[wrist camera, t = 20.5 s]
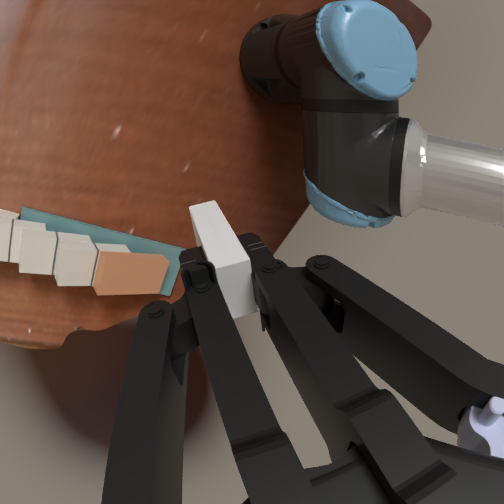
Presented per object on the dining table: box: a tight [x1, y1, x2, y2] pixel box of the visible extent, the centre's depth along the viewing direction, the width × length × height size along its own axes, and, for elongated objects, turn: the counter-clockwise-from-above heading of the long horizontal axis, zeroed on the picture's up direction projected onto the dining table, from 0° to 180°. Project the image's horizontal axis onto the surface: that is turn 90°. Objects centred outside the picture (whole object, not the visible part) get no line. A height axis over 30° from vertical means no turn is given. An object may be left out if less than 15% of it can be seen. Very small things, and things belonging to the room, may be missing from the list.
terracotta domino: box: [93, 251, 169, 295], centre depth 47 cm, size 2×6×11 cm
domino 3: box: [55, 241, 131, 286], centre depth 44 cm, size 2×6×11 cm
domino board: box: [20, 207, 186, 296], centre depth 47 cm, size 28×9×1 cm, turn 65°
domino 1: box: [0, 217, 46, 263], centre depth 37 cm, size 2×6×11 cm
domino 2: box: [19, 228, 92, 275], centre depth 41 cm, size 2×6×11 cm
